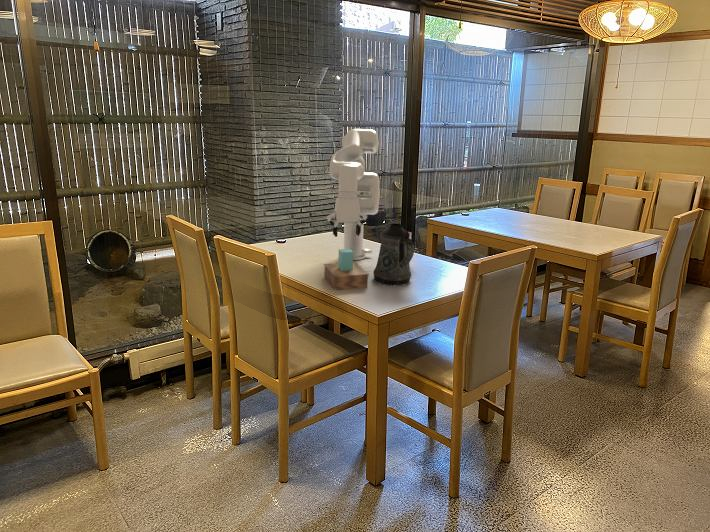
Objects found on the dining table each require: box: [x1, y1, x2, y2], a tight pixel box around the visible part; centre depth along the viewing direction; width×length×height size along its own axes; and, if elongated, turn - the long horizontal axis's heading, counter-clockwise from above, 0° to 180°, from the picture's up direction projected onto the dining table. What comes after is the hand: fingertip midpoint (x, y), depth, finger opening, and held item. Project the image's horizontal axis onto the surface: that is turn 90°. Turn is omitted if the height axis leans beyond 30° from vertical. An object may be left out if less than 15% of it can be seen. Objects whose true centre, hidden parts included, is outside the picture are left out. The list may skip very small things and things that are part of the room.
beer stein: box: [372, 223, 415, 286], centre depth 230 cm, size 16×19×25 cm
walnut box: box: [323, 261, 370, 290], centre depth 228 cm, size 15×19×6 cm
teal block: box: [337, 248, 354, 271], centre depth 226 cm, size 5×5×8 cm
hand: (346, 235), depth 223 cm, fingers open, 9 cm apart
